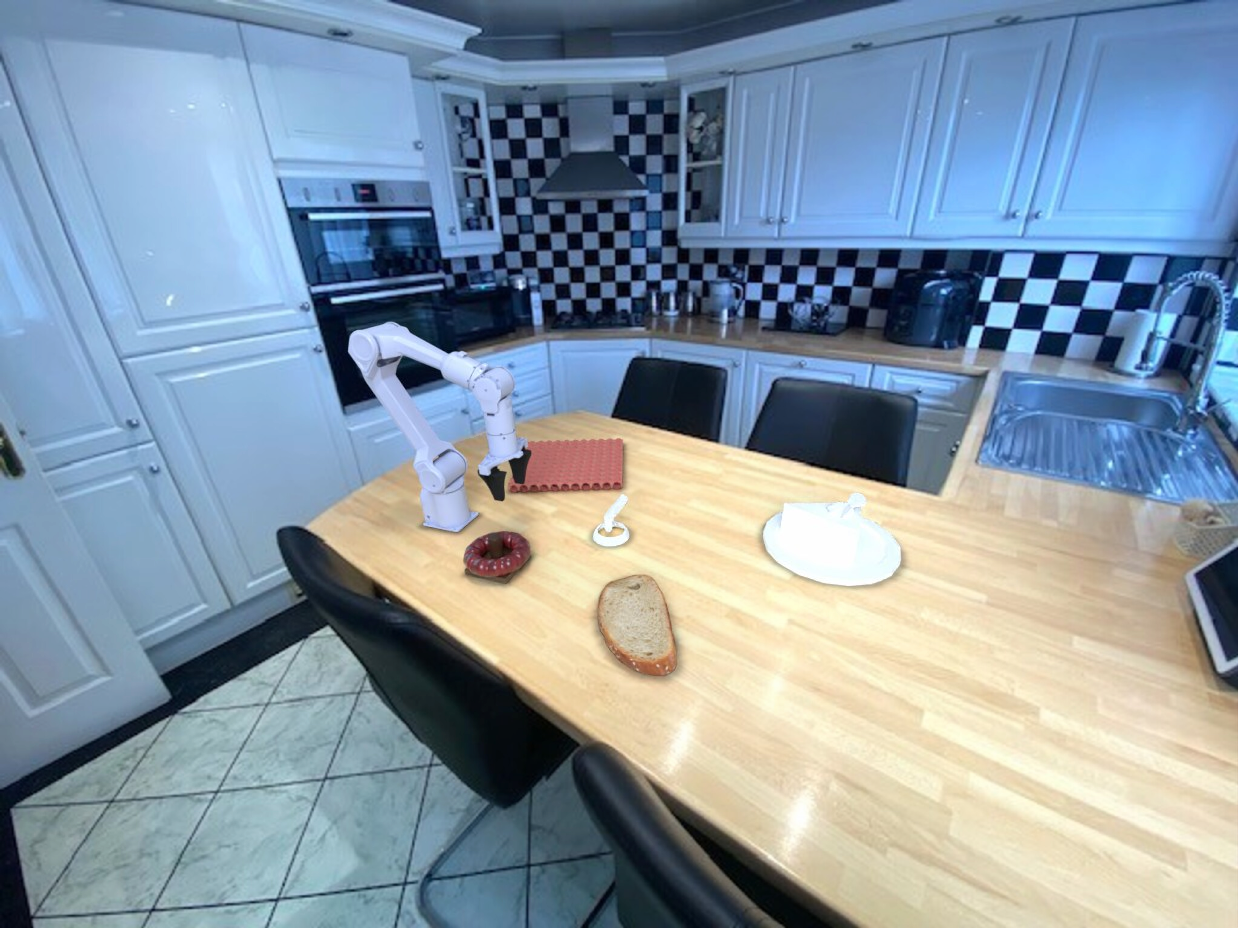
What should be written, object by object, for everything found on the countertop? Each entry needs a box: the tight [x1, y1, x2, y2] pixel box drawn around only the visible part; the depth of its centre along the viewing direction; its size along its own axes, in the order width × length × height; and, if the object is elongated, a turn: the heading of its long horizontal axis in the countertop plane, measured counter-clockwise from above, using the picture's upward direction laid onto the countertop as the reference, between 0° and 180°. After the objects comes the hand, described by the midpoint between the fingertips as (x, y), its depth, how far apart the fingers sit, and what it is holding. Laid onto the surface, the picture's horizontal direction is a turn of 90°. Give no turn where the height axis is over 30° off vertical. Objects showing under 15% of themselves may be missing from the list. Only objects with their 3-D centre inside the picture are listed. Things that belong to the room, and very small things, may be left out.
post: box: [464, 533, 532, 585], centre depth 96 cm, size 9×9×7 cm
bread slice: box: [596, 574, 678, 677], centre depth 81 cm, size 18×18×4 cm
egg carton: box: [507, 437, 624, 494], centre depth 136 cm, size 28×28×2 cm
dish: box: [762, 492, 902, 587], centre depth 97 cm, size 25×25×11 cm
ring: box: [462, 530, 531, 577], centre depth 97 cm, size 12×12×3 cm
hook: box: [592, 493, 631, 547], centre depth 103 cm, size 8×12×7 cm
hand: (509, 491), depth 105 cm, fingers open, 7 cm apart
